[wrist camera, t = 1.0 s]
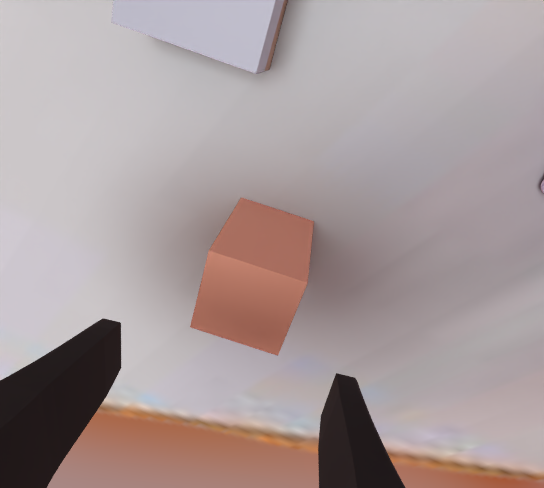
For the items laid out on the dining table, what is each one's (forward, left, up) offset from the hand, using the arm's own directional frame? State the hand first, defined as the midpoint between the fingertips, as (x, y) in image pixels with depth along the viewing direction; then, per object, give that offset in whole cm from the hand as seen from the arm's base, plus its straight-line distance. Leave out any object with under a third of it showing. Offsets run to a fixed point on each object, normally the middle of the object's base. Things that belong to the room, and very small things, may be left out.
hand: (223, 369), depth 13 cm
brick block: (0, 0, -10) cm, 10 cm away
